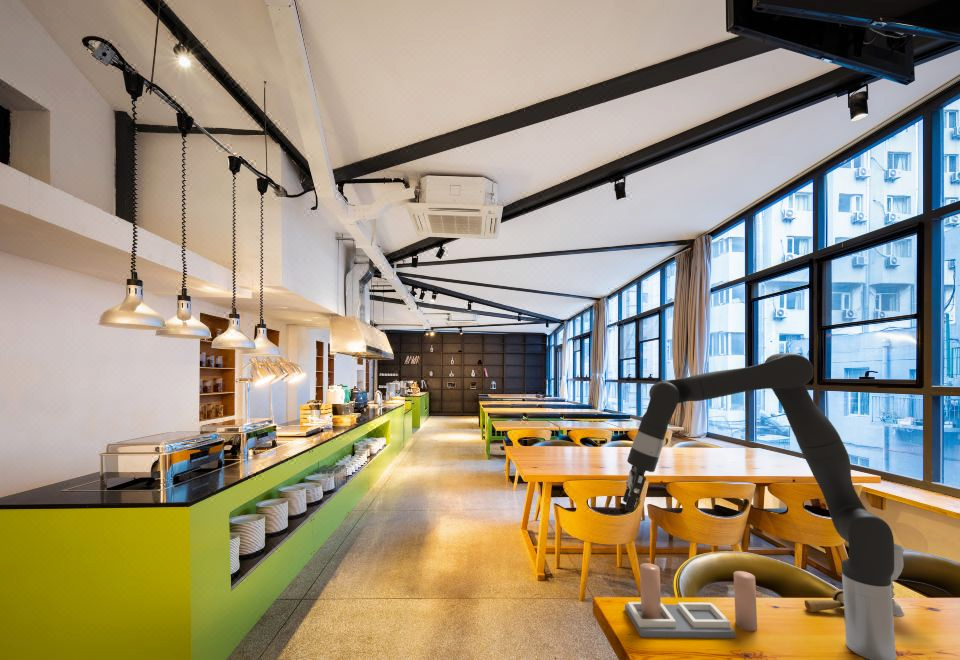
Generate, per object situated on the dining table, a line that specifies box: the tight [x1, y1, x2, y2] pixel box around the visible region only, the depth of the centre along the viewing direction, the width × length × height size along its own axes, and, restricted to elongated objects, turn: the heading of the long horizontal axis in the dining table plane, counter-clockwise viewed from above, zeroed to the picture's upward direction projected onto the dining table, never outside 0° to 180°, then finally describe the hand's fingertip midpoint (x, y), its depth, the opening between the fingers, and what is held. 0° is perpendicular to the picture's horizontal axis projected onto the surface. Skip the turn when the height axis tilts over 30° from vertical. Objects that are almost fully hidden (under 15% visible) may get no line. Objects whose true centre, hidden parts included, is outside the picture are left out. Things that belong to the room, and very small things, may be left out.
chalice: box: [891, 543, 906, 617], centre depth 129 cm, size 7×7×18 cm
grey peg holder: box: [624, 562, 736, 639], centre depth 122 cm, size 24×13×14 cm, turn 90°
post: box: [733, 570, 758, 632], centre depth 121 cm, size 5×5×13 cm
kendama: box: [804, 588, 844, 613], centre depth 127 cm, size 8×6×18 cm
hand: (627, 506), depth 125 cm, fingers open, 8 cm apart
